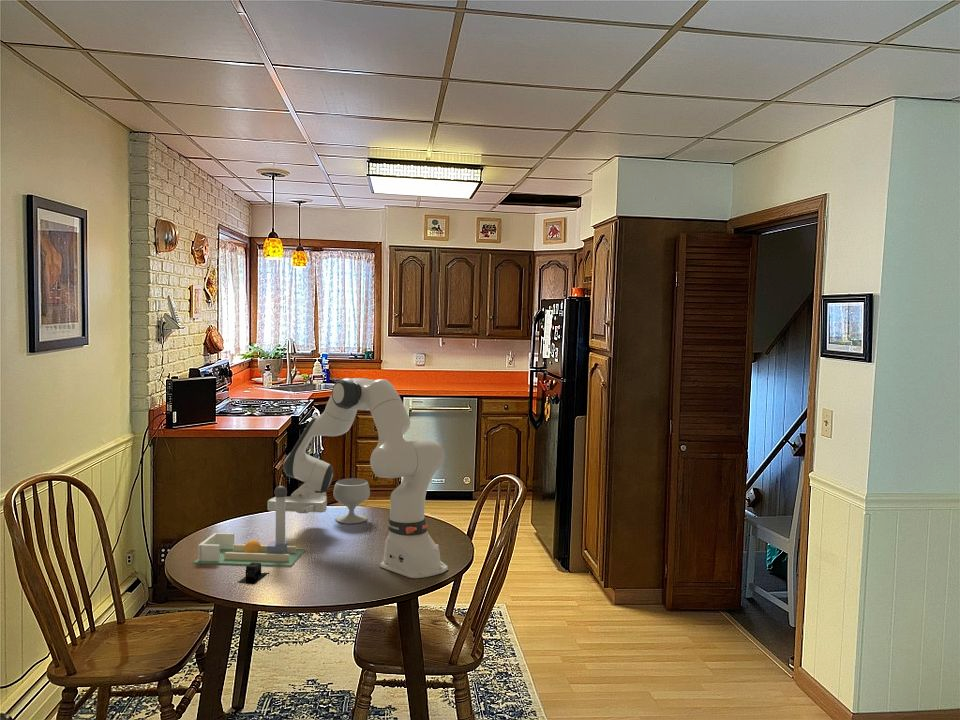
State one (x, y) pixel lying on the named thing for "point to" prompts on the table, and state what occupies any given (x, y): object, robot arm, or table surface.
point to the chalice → (351, 498)
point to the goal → (217, 541)
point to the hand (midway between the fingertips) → (291, 510)
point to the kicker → (279, 523)
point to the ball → (252, 546)
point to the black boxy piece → (253, 574)
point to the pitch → (292, 559)
